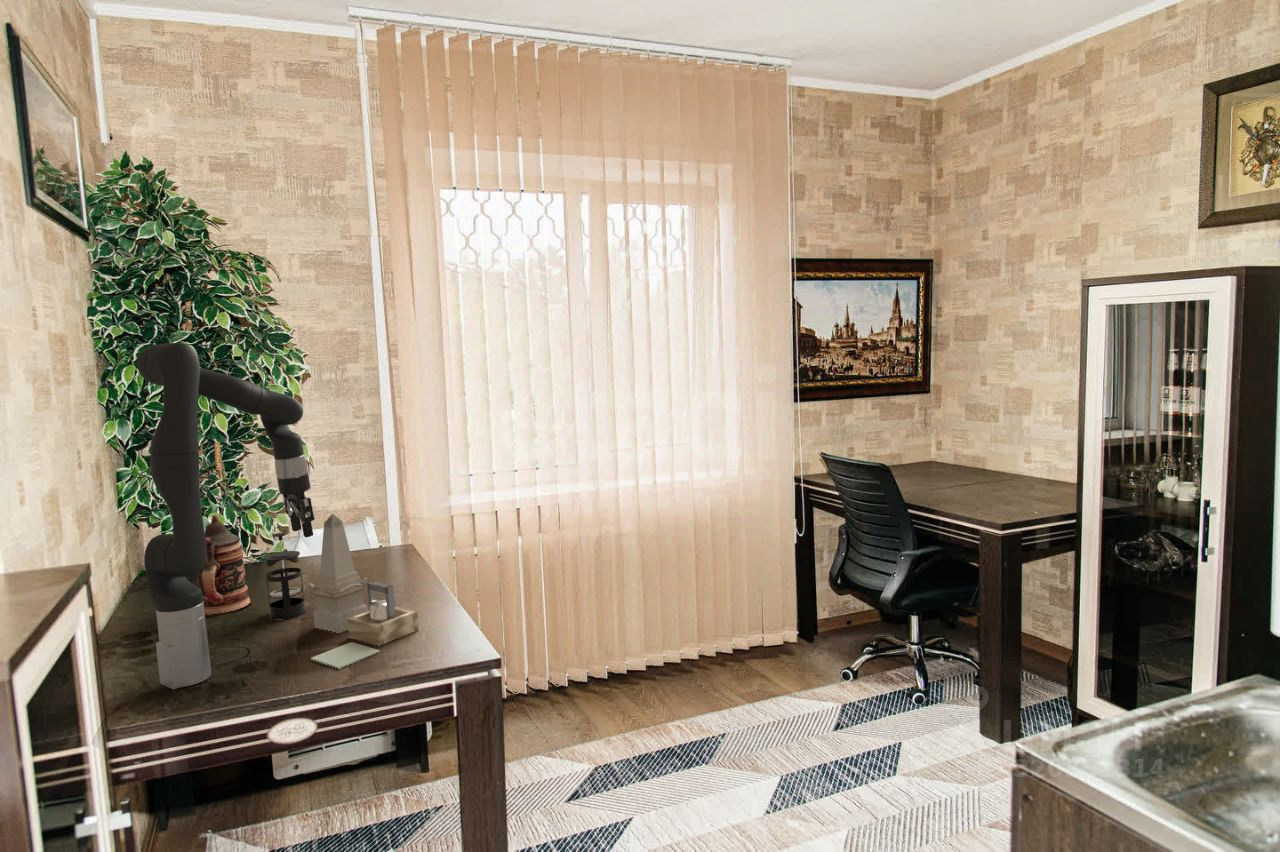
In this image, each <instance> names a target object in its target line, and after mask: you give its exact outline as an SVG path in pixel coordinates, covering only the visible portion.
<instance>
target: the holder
mask: <svg viewBox="0 0 1280 852" xmlns="http://www.w3.org/2000/svg"><path fill="white" fill-rule="evenodd" d="M418 618H419V617H418V611H417V610H412V609H408V608H405V607H400V606H395V618H393V619H390V620H387V621H385V622H382V623H380V624H378V623H375V622H371V621H370V610H368V611H367V612H364V613H362V614H359V615H356V616H353V617H350V618H348V630H347V631H348V637H349V639H352V640H355V639H356V641H359V642H362V641H363V643H366V642H367V643H366V644H369V643H371V644H370V645H372V644H375V645H374V646H376V645H378V646H377V647H381V646H380V645H382V644H384V645H386V644H385V643H387V642H389V641H392V640H394V639H397V638H399V637H401V638H403V637H402V636H404V635H406V636H408V635H407V634H409V633H411V632H414V631H416V632H418V631H419V619H418ZM417 630H418V631H417ZM414 633H415V632H414ZM411 634H412V633H411ZM409 635H410V634H409ZM404 637H405V636H404ZM399 639H400V638H399ZM397 640H398V639H397ZM394 641H395V640H394ZM392 642H393V641H392ZM389 643H390V642H389ZM387 644H388V643H387ZM382 646H383V645H382Z"/></svg>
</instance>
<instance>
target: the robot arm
mask: <svg viewBox="0 0 1280 852" xmlns="http://www.w3.org/2000/svg"><path fill="white" fill-rule="evenodd" d="M136 368H137V371H138V372H139V374H140V375H141V376H140V377H142V378H143V379H144V380H146V381H147V382H148V383H150V384H152V385H156V386H162V387H163V409H162V413H161V417H160V419H159V422H158V423H157V426H156V428H155V431H154V434H153V436H152V439H151V442H150V446H149V447H150V448H149V454H150V455H149V456H150V457H149V458H150V475H151V479H152V481H153V483H154V485H155V487H156V489H157V490H158V493H159V494H160V496H161V497H162V499H163V500H164V502H165V505H167V507H168V510H169V513H170V517H171V522H172V533H165V534H163V533H162V534H158V535H155V536H154V537H153V538H151V540H149V542H148V543H147V545H146V548H145V549H144V550H145V551H144V555H143V556H144V557H143V558H144V560H143V562H144V563H143V564H144V569H145V571H144V572H145V575H146V581H147V587H148V592H149V595H150V597H151V600H152V601H153V602H154V606H155V613H156V614H155V615H156V622H157V623H156V624H157V632H158V640H159V641H157V642H156V643H155V649H156V658H157V665H158V666H157V667H158V674H159V675H158V676H159V683H160V685H162V686H164V687H166V688H170V689H172V690H176V689H179V688H185V687H189V686H193V685H196V684H199V683H202V682H204V681H206V680H207V679H209V678H210V677H211V676H212V668H211V667H212V666H211V660H210V659H211V657H210V651H209V641H208V632H207V623H206V615H205V612H204V602H203V593H202V590H201V589H200V588H199V586H197V585H194V584H193V583H191V581H189V580H188V579H187V578H189V577H194V576H196V575H197V574H198V573H199V572H200V571H201V570H202V568H203V567H204V564H205V561H206V555H207V547H206V538H205V526H204V521H203V520H204V519H203V513H202V503H201V502H202V501H201V500H202V499H201V486H200V453H199V437H198V436H199V434H198V431H199V430H198V429H199V428H198V426H199V425H198V401H199V400H198V399H199V396H202V397H205V398H208V399H211V400H213V401H216V402H219V403H221V404H224V405H226V406H230V407H232V408H234V409H237V410H239V411H242V412H244V413H248V414H251V415H259V416H260V420H261V423H262V426H263V428H264V430H265V432H266V434H267V436H268V438H269V440H270V442H271V446H272V454H273V457H274V470H275V475H276V481H277V486H278V492H279V494H281V495H282V498H283V499H282V500H283V504H284V511H285V514H286V515H287V517H288V518H289V519H290V521H289V522H290V526H291V529H292V531H293V532H298V531H301V530H302V533H303V534H302V535H303V537H304V538H310V537H313V535H314V531H313V526H312V525H313V524H312V522H314V521H315V515H314V510H313V509H314V508H313V505H312V499H311V498H310V497H306V495H305V492H306V491H309V490H310V489H311V480H310V475H309V470H308V464H307V460H306V456H305V451H304V447H303V442H302V441H303V440H302V438H301V435H300V434H299V433H296V432H294V431H293V430H291V428H290V427H289V426H290V425H295V424H296V423H299V422H300V421H301V420H302V418H303V415H304V409H303V406H302V404H301V402H300V401H299V400H298V399H297V398H295V397H293V396H290V395H288V394H284V393H281V392H276V391H273V390H269V389H266V388H263V387H261V386H260V385H257V384H255V383H252V382H250V381H248V380H245V379H242V378H241V377H240V378H239V377H238V376H237V377H236V376H233V375H229V374H225V373H220V372H217V371H213V370H209V369H206V368H203V367H201V366H200V359H199V356H198V353H197V352H196V351H195V350H194V348H193V347H191V346H190V345H189V344H187V343H185V342H184V343H183V342H171V343H170V342H169V343H157V344H153V345H149V346H147V347H145V348H143V349H142V351H140V353H139V354H138V356H137V358H136Z"/></svg>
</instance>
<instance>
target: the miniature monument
mask: <svg viewBox="0 0 1280 852" xmlns="http://www.w3.org/2000/svg"><path fill="white" fill-rule="evenodd" d="M346 534H347V533H346V530H345V527H344V522H343V520H342V519H340V518H339V517H337V516H336V515H335V514H334V513H331V514H330V516H329V517H328V518H327V519H326V520H325V521H324V522H323V534H322V542H321V543H322V544H321V545H322V546H321V547H322V548H321V559H320V572H319V575H318V576H317V577H316V579H317V580H316V581H315V584H314V583H308V593H309V594H311V595H314V597H315V606H316V607H315V608H316V609H315V610H314V611H313V622H314V629H316V628H319V629H318V630H321V629H324V630H323V631H325V630H328V631H327V632H329V631H332V632H331V633H334V632H336V633H335V634H338V633H340V634H342V633H344V632H343V631H345V632H347V631H349V630H348V618H350V617H353V616H356V615H359V614H362V613H364V612H367V611H369V605H367V604H365V599H364V598H365V597H364V596H365V595H364V589H366V588H368V587H367V583H369V577H368V576H367V577H364V578H362V577H361V576H360V575H359V572H358V571H356V569H355V565H354V561H353V557H352V553H351V550H350V546H349V542H348V538H347V535H346ZM346 630H347V631H346ZM341 632H342V633H341Z"/></svg>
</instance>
